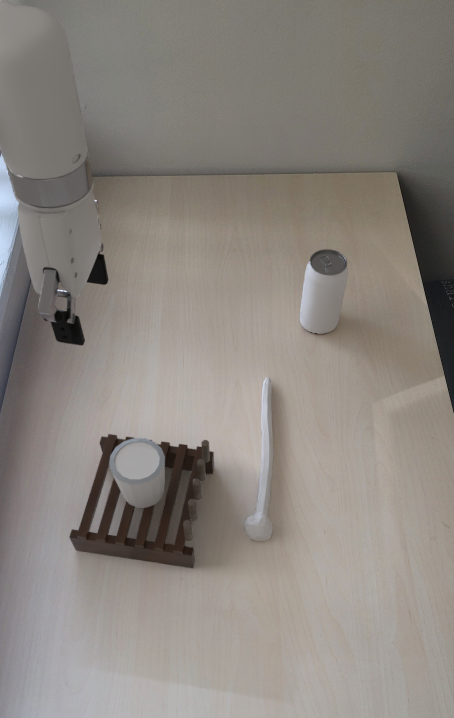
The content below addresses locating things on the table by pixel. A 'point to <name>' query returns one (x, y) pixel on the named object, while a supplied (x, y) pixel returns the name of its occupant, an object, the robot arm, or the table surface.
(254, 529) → the white spoon
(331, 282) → the can
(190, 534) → the rack
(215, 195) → the table surface
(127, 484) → the white cup
